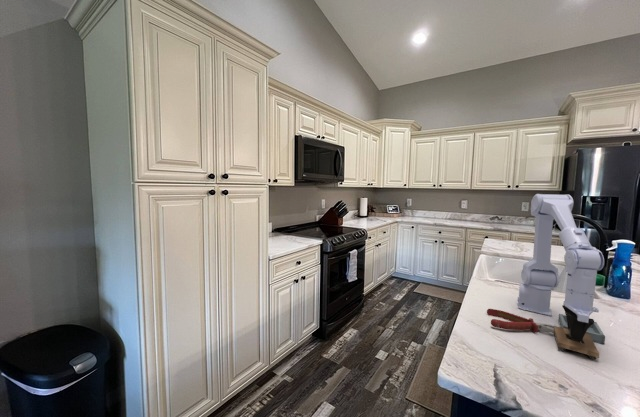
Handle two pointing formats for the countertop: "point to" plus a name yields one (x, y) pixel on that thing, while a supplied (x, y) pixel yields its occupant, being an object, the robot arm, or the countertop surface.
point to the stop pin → (572, 338)
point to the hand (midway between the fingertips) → (574, 335)
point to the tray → (592, 330)
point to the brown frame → (575, 343)
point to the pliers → (517, 322)
